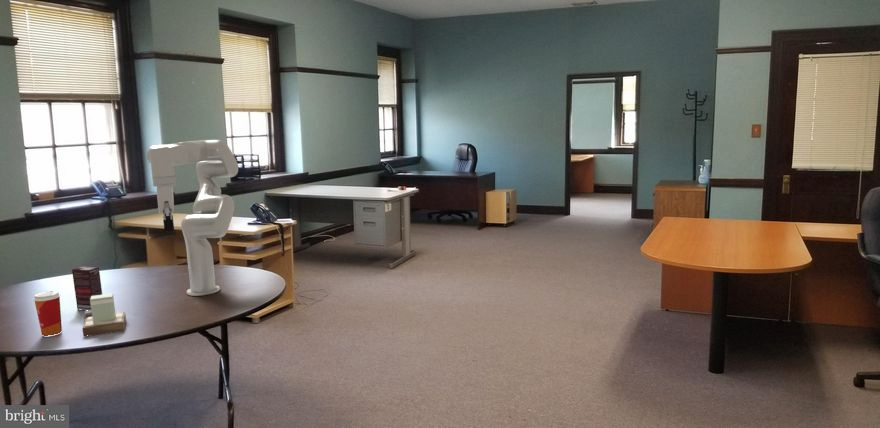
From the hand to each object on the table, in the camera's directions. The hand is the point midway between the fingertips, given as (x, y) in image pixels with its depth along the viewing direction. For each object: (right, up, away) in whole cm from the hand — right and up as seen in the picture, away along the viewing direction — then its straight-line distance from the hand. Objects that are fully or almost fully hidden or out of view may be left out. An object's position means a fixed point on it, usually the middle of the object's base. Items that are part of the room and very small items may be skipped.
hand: (169, 228), depth 229 cm
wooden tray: (-16, -34, -14) cm, 40 cm away
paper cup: (-31, -35, -18) cm, 50 cm away
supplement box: (-33, -31, +9) cm, 46 cm away
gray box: (-23, -33, -5) cm, 40 cm away
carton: (-16, -30, -14) cm, 37 cm away
